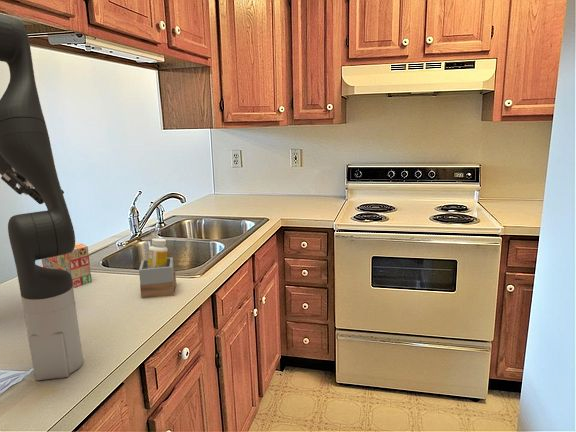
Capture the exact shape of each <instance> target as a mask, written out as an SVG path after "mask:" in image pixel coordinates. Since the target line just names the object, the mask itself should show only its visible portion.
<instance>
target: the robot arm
mask: <svg viewBox="0 0 576 432" xmlns="http://www.w3.org/2000/svg"><path fill="white" fill-rule="evenodd" d="M30 43H31V42H30V39H29V35H28V31H27V28H26V27H25V24H24V23H23V21H21V20H20V19H19V18H16V17H13V16H10V15H7V14H3V13H0V62H3V63H6V64H7V66H8V69H9V82H8V85H7V87H6V88H5V89H6V90H5V91H4V93H3V95H1V96H2V97H1V98H0V175H1V177H0V179H1V180H2V181H3V182H4V183H5V184H6V185H8V186H9V187H10V188H11V189H12V190H13V191H14V192H15V193H17V194H19V195H21V196H22V194H24V195H26V196H29V197H31V199H33V200H34V201H35V202H36V203H38V205H43V204H44V205H45V207H46V209H47V210H42V211H35V212H27V213H20V214H15V215H12V216H11V217H10V218H9V219H8V223H7V233H8V238H9V243H10V247H11V251H12V255H13V258H14V259H13V260H14V263H15V270H16V273H17V280H18V286H19V292H20V298H21V304H22V309H23V310H22V311H23V315H24V321H25V328H26V333H27V340H28V344H29V351H30V356H31V361H32V368H33V373H34V379H35V381H42V380H43V381H44V380H52V379H54V380H55V379H60V378H68V377H69V376H70V375H71V374H72V373H74V372H76V370H78V369H80V367H82V365H83V363H84V355H83V354H84V353H83V348H82V341H81V335H80V328H79V326H80V325H79V320H78V313H77V306H76V301H75V299H76V298H75V291H74V290H75V289H74V288H73V282H72V277H71V274H70V273H69V272H67V271H65V270H61V269H51V268H44V267H43V266H41V265H38V264H36V262H37V261H38V260H42V259H45V258H50V257H55V256H59V255H64V254H68V253H71V252H72V251H73V250H74V248H75V241H76V236H75V235H76V234H75V229H74V225H73V222H72V218H71V215H70V212H69V209H68V206H67V203H66V202H67V201H66V199H65V197H64V194H65V191H64V190H63V188H62V187H61V184H60V180H59V177H58V172H57V169H56V165H55V159H54V154H53V149H52V144H51V140H50V136H49V132H48V128H47V127H48V126H47V123H46V119H45V116H44V113H43V109H42V106H41V101H40V97H39V93H38V88H37V84H36V77H35V72H34V64H33V57H32V49H31V44H30Z"/></svg>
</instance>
